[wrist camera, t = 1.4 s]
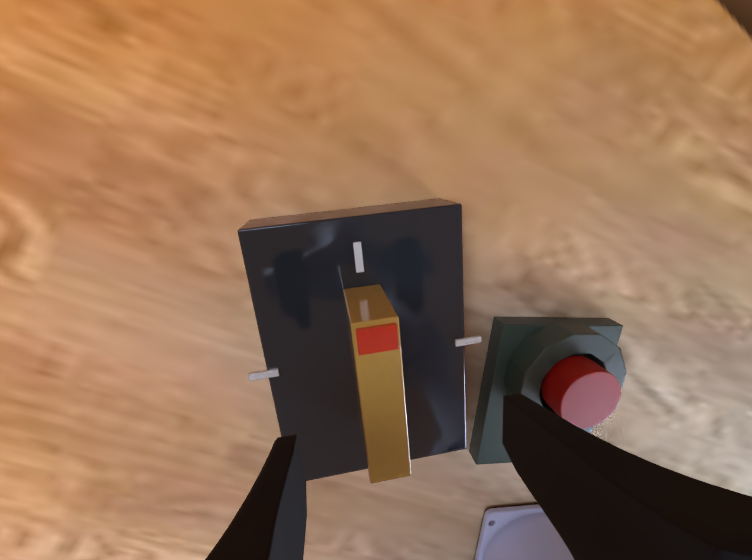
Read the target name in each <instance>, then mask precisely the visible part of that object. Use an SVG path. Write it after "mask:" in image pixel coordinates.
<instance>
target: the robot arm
mask: <svg viewBox="0 0 752 560" xmlns="http://www.w3.org/2000/svg"><path fill="white" fill-rule="evenodd" d="M502 444H503V446H504V448H505V450H506V452H507V454H508V456H509V458H510V460H511V462H512V463H513V465H514V467H515V469H516V471H517V473H518V474H519V476H520V477H521V479H522V480H523V482H524V483H525V485H526V486H527V488H528V489H529V491H530V492H531V494H532V495H533V497H534V498H535V500H536V501H537V502H538V504H536V505H524V506H513V507H501V508H491V509H488V510H487V511H486V512H485V514H484V518H483V523H482V527H481V532H480V537H479V541H478V546H477V551H476V556H475V560H752V497H751V496H747V495H744V494H740V493H737V492H734V491H731V490H727V489H724V488H721V487H718V486H714V485H711V484H708V483H705V482H702V481H699V480H696V479H693V478H691V477H688V476H685V475H683V474H680V473H677V472H674V471H672V470H669V469H666V468H664V467H661V466H659V465H656V464H654V463H651V462H649V461H647V460H644V459H642V458H640V457H638V456H635V455H633V454H631V453H629V452H626V451H624V450H622V449H620V448H618V447H616V446H614V445H612V444H610V443H608V442H606V441H604V440H602V439H600V438H598V437H596V436H594V435H592V434H590V433H588V432H587V431H585V430H583V429H581V428H579V427H577V426H576V425H574V424H572V423H570V422H569V421H567V420H565V419H563V418H562V417H560V416H558V415H557V414H555V413H553V412H551V411H550V410H548V409H546V408H545V407H543V406H541V405H540V404H538V403H536V402H535V401H533V400H531V399H529V398H528V397H526V396H524V395H522V394H520V393H517V394H512V395H506V396H503V432H502ZM306 518H307V503H306V480H305V475H304V469H303V464H302V459H301V454H300V449H299V444H298V439H297V434H295V435H290V436H284V437H279V438H277V439H276V441H275V442H274V444H273V447H272V449H271V451H270V453H269V456H268V458H267V460H266V462H265V464H264V466H263V468H262V470H261V472H260V474H259V476H258V477H257V479H256V481H255V483H254V485H253V487H252V488H251V490H250V492H249V494H248V496H247V497H246V499H245V501H244V502H243V504H242V506H241V507H240V509H239V511H238V512H237V514H236V515H235V517H234V519H233V520H232V522H231V524H230V525H229V527H228V528H227V530H226V531H225V533H224V534H223V536H222V537H221V538H220V540H219V541H218V543H217V544H216V546H215V547H214V548H213V550H212V551H211V553H210V554H209V555H208V557H207V558H206V559H205V560H303V554H304V543H305V531H306Z"/></svg>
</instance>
